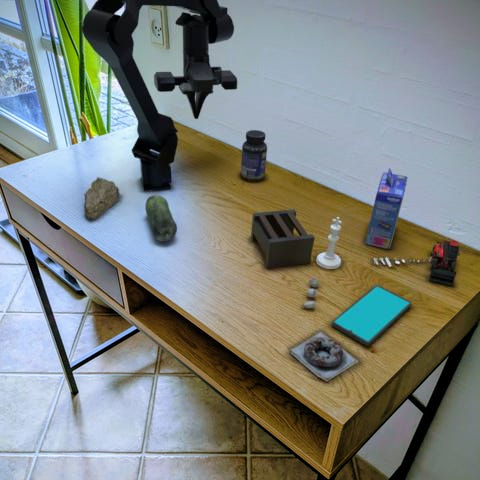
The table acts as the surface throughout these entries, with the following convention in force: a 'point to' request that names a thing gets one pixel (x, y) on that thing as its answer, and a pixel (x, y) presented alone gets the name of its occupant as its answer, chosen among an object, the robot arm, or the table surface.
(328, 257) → the chess piece
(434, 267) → the loader
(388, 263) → the miniature set
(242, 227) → the table surface
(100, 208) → the stone
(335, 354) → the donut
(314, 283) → the game pieces
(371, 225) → the ink cartridge box
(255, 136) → the pill bottle
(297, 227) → the rack
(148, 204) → the vegetable
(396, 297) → the smartphone
